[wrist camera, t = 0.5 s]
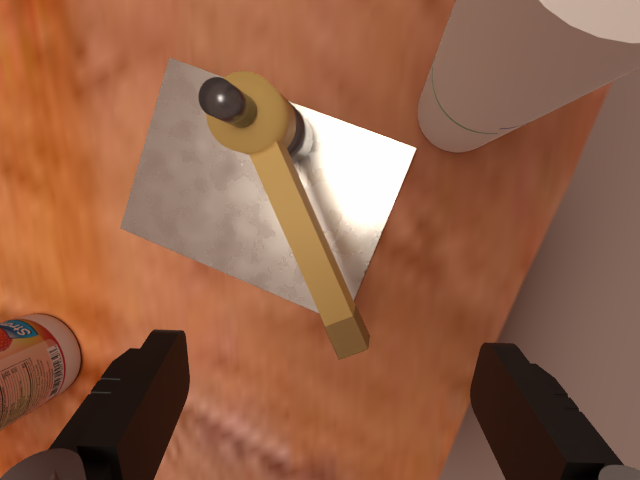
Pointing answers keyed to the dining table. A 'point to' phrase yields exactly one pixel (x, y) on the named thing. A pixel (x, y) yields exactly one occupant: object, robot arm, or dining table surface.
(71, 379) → the fruit juice
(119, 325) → the dining table surface
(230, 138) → the lever handle
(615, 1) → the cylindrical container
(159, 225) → the square base plate stand
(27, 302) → the dining table surface
